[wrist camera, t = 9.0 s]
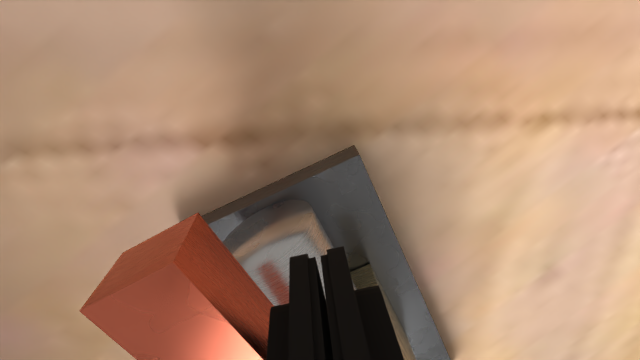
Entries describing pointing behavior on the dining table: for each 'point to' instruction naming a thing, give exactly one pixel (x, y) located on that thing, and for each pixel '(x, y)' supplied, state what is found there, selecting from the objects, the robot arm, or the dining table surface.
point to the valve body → (328, 242)
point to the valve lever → (182, 299)
